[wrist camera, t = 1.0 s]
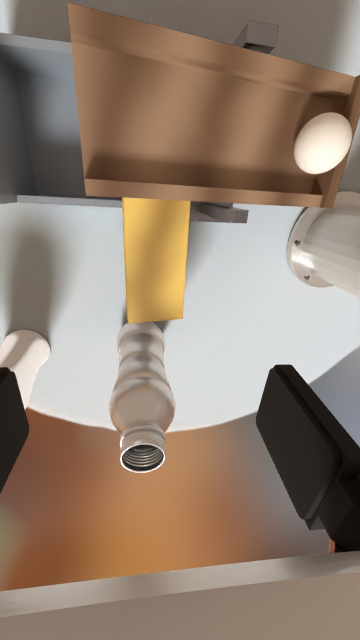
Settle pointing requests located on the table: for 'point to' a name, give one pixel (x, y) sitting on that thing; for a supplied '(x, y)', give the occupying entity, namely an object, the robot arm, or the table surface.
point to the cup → (41, 125)
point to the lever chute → (191, 137)
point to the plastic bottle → (141, 397)
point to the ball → (322, 143)
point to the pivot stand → (262, 41)
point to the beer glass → (24, 358)
